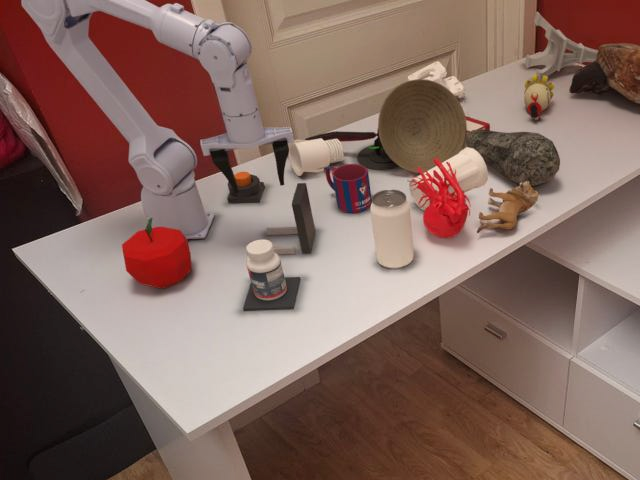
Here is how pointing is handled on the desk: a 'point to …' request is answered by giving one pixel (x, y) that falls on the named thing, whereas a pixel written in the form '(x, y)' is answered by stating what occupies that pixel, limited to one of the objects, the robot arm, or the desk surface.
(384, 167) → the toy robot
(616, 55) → the sculpture
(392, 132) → the bowl
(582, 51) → the eiffel tower
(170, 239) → the apple
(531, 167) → the decorative stone
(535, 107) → the toy
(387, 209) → the can
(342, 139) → the toy
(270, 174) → the desk surface
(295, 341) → the desk surface
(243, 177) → the button
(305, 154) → the downlight
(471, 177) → the cup
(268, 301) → the coaster
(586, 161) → the desk surface
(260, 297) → the pill bottle
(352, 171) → the cup
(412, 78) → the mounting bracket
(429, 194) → the heart organ
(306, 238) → the upright grey panel
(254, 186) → the block
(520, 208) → the lion figurine
